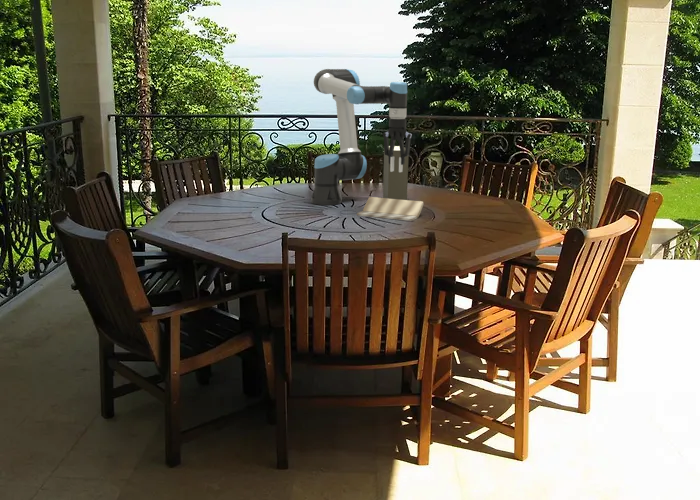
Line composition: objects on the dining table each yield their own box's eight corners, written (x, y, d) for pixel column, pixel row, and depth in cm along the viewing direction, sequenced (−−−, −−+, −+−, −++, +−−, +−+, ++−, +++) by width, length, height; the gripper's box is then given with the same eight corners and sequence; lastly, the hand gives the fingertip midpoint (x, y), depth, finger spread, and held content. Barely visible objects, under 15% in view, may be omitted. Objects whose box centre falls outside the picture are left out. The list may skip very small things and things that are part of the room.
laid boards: (356, 217, 295) (356, 213, 294) (362, 214, 300) (362, 210, 299) (412, 222, 284) (412, 218, 284) (416, 220, 289) (416, 216, 289)
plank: (363, 213, 301) (362, 210, 300) (370, 199, 306) (369, 196, 305) (417, 218, 291) (417, 215, 289) (423, 204, 296) (423, 201, 295)
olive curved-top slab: (406, 207, 321) (408, 149, 313) (387, 207, 320) (389, 149, 313) (401, 198, 342) (402, 143, 334) (382, 198, 341) (384, 143, 333)
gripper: (377, 118, 291) (376, 171, 297) (412, 119, 284) (410, 173, 290) (383, 117, 297) (382, 169, 303) (418, 118, 291) (416, 171, 297)
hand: (396, 171), depth 297 cm, fingers open, 3 cm apart
